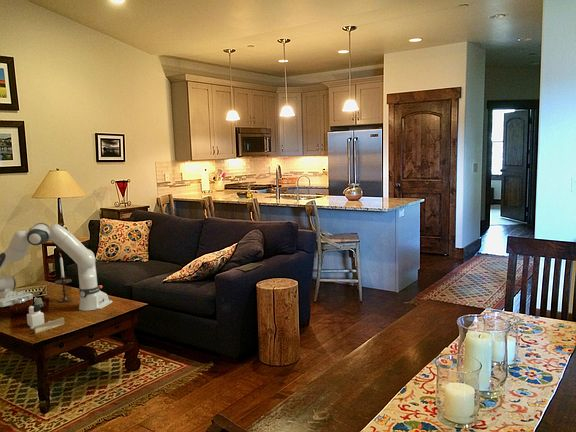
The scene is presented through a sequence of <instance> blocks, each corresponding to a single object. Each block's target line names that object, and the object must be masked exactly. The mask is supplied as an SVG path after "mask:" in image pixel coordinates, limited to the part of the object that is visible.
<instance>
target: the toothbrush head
mask: <svg viewBox="0 0 576 432" xmlns="http://www.w3.org/2000/svg"><path fill="white" fill-rule="evenodd" d="M34 297H35V298H34V302H33V303H34V305H39V306H40V308H42V307H44V301H43V300H42V298H41V297H36V296H34Z"/></svg>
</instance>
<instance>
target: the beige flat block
mask: <svg viewBox="0 0 576 432" xmlns="http://www.w3.org/2000/svg"><path fill="white" fill-rule="evenodd" d="M63 325H65V317H60V318H56V319H54V320H48V321H47V322H44V324H41V325H38V326H35V327H31V326H29V330H33V331H34V334H35V335H37V334H40V333H44V332H46V331H48V330H52V329H54V328H57V327H60V326H63Z"/></svg>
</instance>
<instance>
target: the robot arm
mask: <svg viewBox="0 0 576 432" xmlns="http://www.w3.org/2000/svg"><path fill="white" fill-rule="evenodd" d="M49 241H51V242H53V243H54V244H55V245H56V246H57V247H58V248H60V250H62V251H63V252H64V253H65V254H67V255H68V257H69V258H71V259H72V261H74V263H75V264H77V273H78V282H79V283H78V285H79V289H78V292H79V304H78V310H79V311H82V312H83V311H87V312H88V311H94V310H101V309H103V308H104V307H106V306H108V305H110V304H112V303H113V300H111V299H109V296H108V294H107V293H106V292H104V291H101V289H102V288H103V285H98V277H97V268H96V267H97V266H96V261H97V260H96V257H95V253H94V252H93V251H92V250H91V249H89V248H87V247H85V245H84V244H83V243H82V242H81V241H80V240H79V239H78V238H77V237H75V236H74V234H72V233H71V232H70V231H69V230H68V229H66V228H65V227H64V226H62V225H61V224H58V223H55V224H51V225H50V226H49V225H48V224H47V223H44V222H39V223H36V224H34V225H33V226H31V227H30V228H29V230H28V231H27V230H24V229H22V230H18V231H16V232H15V233H14V234H13V236H12V238H11V240H10V242H9V243H8V246H7V248H6V249H5V250H4V251H3V252H2V253H0V272H1V270H3V268H4V267H5V266H6V265H9V264H10V263H14V262H18V261H21V260H22V259H24V258H25V257H26V256H27V253H28V251H29V248H30V245H32V246H41V245H42V244H45V243H46V242H49ZM16 285H17V281H16V278H14V276H12V275H7V274H6V275H5V274H4V275H0V308H5V307H9V306H10V307H11V306H14V305H15V304H22V303H26V302H27V301H28V300H31V299H33V296H34V294H33V292H29V291H25V290H22V289H21V290H15V289H16ZM28 302H29V301H28Z"/></svg>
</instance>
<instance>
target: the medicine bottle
mask: <svg viewBox="0 0 576 432" xmlns="http://www.w3.org/2000/svg"><path fill="white" fill-rule="evenodd" d="M26 322H27V326H29V327H35V326H38V325H41V324H44V323H45V314H44V312H42V311H41V307H40V306H39V305H35V304H32V305H30V306H29V307H28V313H27V314H26Z"/></svg>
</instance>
